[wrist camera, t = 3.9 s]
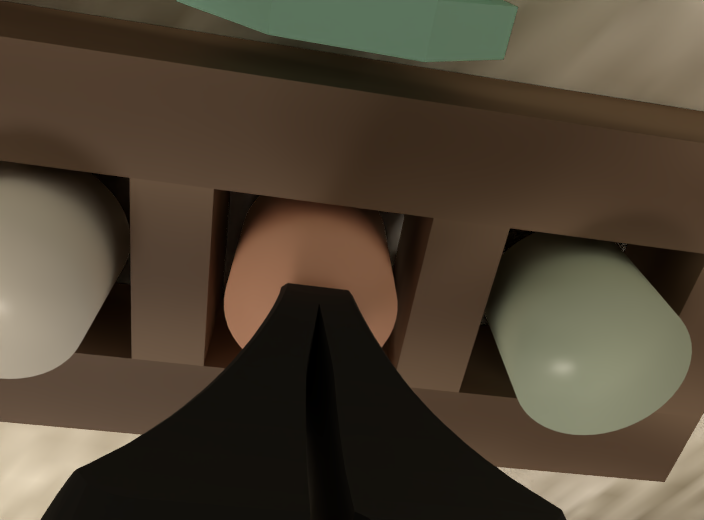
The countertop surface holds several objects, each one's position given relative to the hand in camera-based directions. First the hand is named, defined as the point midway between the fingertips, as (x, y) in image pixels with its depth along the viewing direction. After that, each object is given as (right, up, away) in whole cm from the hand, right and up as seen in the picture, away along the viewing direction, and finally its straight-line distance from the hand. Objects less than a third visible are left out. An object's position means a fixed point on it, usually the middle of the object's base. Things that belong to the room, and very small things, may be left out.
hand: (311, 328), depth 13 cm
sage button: (+6, +1, +3) cm, 7 cm away
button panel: (0, +2, +4) cm, 4 cm away
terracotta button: (0, +2, +3) cm, 4 cm away
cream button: (-6, +2, +2) cm, 7 cm away
